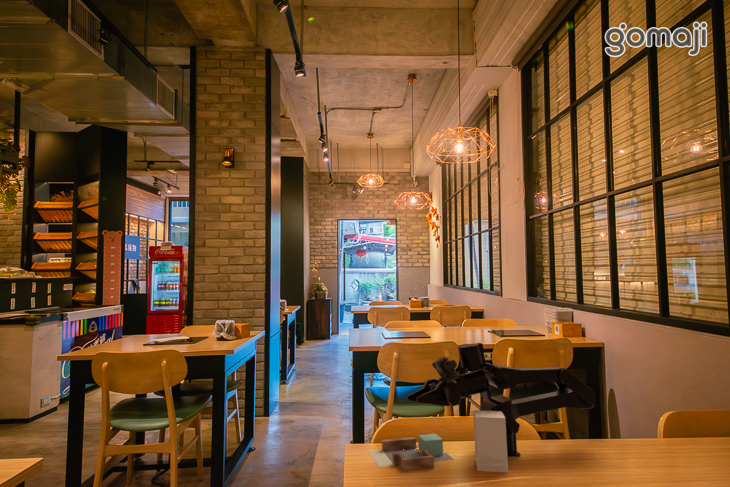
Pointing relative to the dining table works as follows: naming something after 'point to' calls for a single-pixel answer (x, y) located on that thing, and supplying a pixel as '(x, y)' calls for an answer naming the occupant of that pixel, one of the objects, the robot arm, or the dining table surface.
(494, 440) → the supplement box
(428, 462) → the tunnel
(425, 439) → the block
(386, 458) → the grey board
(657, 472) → the dining table surface
